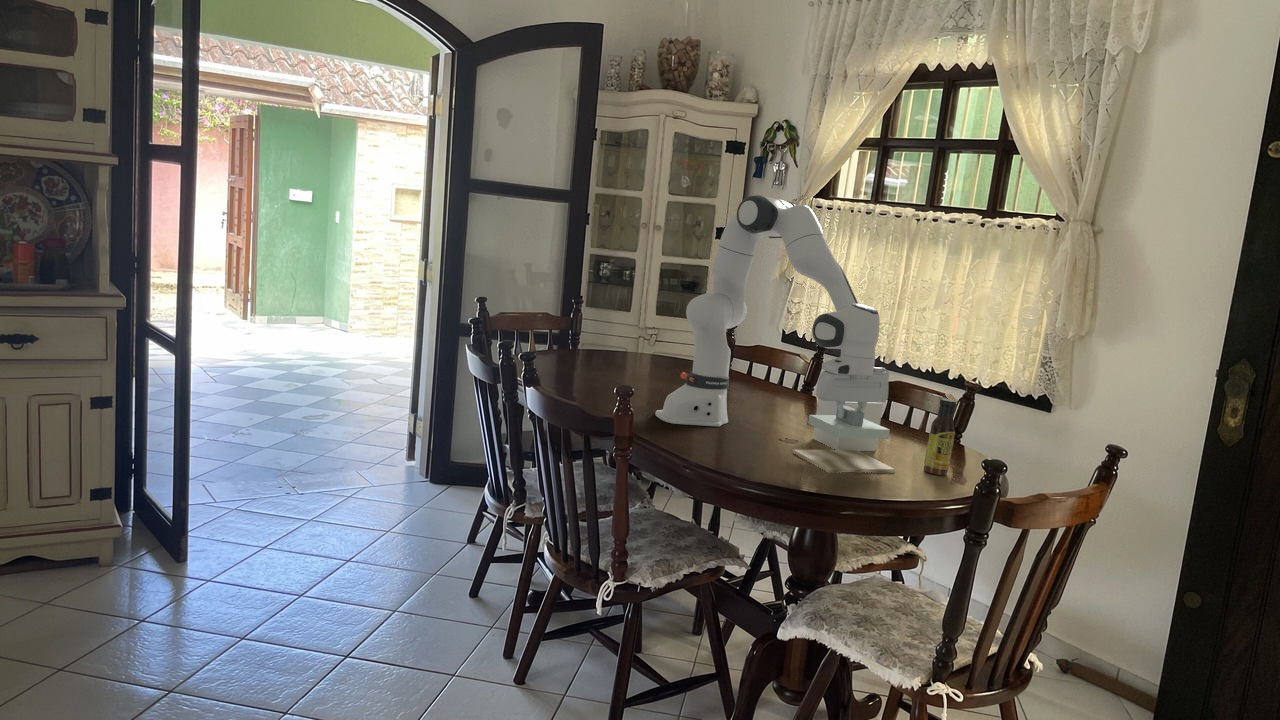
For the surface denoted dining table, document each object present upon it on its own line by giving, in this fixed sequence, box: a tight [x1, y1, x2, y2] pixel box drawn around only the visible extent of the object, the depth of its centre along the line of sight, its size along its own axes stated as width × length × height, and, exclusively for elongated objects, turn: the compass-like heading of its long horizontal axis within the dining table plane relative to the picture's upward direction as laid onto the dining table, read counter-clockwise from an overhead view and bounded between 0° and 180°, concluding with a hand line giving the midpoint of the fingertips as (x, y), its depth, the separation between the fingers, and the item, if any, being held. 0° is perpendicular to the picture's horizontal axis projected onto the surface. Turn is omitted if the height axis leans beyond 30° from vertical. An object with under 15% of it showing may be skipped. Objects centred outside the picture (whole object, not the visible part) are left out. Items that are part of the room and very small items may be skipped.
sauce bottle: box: [923, 398, 957, 476], centre depth 224 cm, size 6×6×20 cm
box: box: [812, 398, 884, 452], centre depth 246 cm, size 13×13×14 cm
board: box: [792, 449, 896, 474], centre depth 226 cm, size 20×18×1 cm
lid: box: [808, 406, 891, 440], centre depth 224 cm, size 15×15×6 cm
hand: (849, 417), depth 224 cm, fingers closed on lid, 3 cm apart
